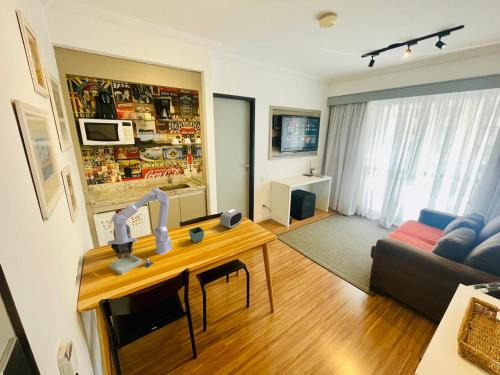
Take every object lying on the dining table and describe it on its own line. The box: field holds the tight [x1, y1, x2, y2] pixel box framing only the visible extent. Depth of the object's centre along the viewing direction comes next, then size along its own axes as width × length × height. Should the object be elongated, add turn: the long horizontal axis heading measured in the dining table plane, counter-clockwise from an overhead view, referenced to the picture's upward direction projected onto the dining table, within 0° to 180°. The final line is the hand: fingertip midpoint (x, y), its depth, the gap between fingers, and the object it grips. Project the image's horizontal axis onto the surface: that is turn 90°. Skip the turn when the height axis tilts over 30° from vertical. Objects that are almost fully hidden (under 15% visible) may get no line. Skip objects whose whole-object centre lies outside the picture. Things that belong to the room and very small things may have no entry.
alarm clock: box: [219, 208, 244, 229], centre depth 179 cm, size 21×10×13 cm, turn 147°
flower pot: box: [188, 226, 205, 244], centre depth 152 cm, size 9×9×9 cm
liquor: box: [112, 209, 134, 253], centre depth 134 cm, size 9×9×30 cm
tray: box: [108, 253, 143, 276], centre depth 124 cm, size 13×13×3 cm
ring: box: [117, 249, 130, 260], centre depth 121 cm, size 6×6×3 cm
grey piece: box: [141, 257, 155, 269], centre depth 125 cm, size 5×5×4 cm
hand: (124, 253), depth 122 cm, fingers closed on ring, 5 cm apart
